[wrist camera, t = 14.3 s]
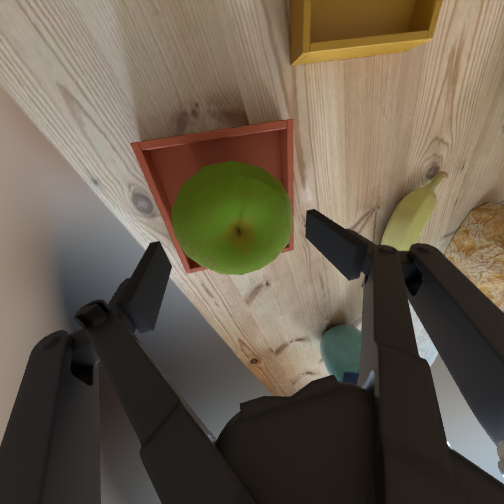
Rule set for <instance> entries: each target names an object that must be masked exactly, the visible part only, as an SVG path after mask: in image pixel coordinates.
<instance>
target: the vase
mask: <svg viewBox="0 0 504 504" xmlns="http://www.w3.org/2000/svg"><path fill="white" fill-rule="evenodd" d="M360 350H361V331H360V330H358V329H357V328H355V327H352V326H349V325H337V326H334V327H332V328H330V329H329V330H327V331H326V332H325V333H324V334H323V336H322V338H321V341H320V352H321V356H322V359H323V362H324V364H325V366H326V368H327V370H328V372H329V374H330V375H333V374H334V375H335V377H336V379H337V381H342V382H348V383H351V384H354V385H357V382H358V377H359V370H360ZM447 444H448V442H447ZM448 446H449V447H450V445H449V444H448ZM450 448H451V447H450Z"/></svg>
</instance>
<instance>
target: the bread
mask: <svg viewBox="0 0 504 504" xmlns="http://www.w3.org/2000/svg"><path fill="white" fill-rule="evenodd" d="M445 257H446V258H447V259H448V260H450V261H451V262H452V263H453V264H454V265H455V266H456V267H457V268H458V269H459V270H460V271H461V272H462V273H463V274H464V275H465V276H466V277H467V278H468V279H469V280H470V281H471V282H472V283H473V284H474V285H475V286H476V287H477V288H478V289H480V290H481V291H482V292H483V293H484V294H485V295H486V296H487V297H488V298H489V299H490V300H491V301H492V302H493V303H494V304H495V305H496V306H497V307H498V308H499V309H500V310H501V311H503V310H504V205H499V204H494V203H490V202H489V203H486V204H484V205H482V206H480V207H478V208H476V209H473V210H471V211H470V213H469V214H468V216H467V217H466V219H465V220H464V221H463V223H462V224H461V226H460V227H459V229H458V230H457V232H456V234H455V235H454V237H453V239H452V241H451V242H450V244H449V246H448V248H447V249H446V252H445Z"/></svg>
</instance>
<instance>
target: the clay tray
mask: <svg viewBox="0 0 504 504" xmlns="http://www.w3.org/2000/svg"><path fill="white" fill-rule="evenodd" d="M131 146H132V148H133V151H134V153H135V155H136V158H137V160H138V162H139V165H140V167H141V169H142V172H143V174H144V176H145V178H146V181H147V183H148V185H149V188H150V190H151V192H152V195H153V197H154V199H155V202H156V204H157V206H158V209H159V211H160V213H161V215H162V218H163V220H164V222H165V225H166V227H167V229H168V232H169V234H170V236H171V239H172V241H173V243H174V246H175V248H176V250H177V253H178V255H179V257H180V259H181V262H182V264H183V266H184V269H185V271H186V273H187V274H189V273H193V272H198V271H202V270H207V268H204V267H202V266H201V265H199V264H198V263H197V262H195V261H194V260H192V259H191V258H190V257H188V256H187V255H186V254H185V253H184V251H183V249H182V247H181V246H180V244H179V242H178V241H177V239H176V237H175V236H174V229H173V221H172V214H171V210H172V208H173V205H174V203H175V201H176V198H177V196H178V193H179V191H180V189H181V186H182V185H183V184H184V182H185V181H187V180H188V179H189V178H191V177H192V176H193V175H194V174H196V173H197V172H198V171H199V170H200V169H201V168H202V167H203V166H207V165H212V164H217V163H222V162H227V161H237V162H241V163H245V164H250V165H254V166H258V167H261V168H262V169H264V170H265V171H267V172H268V173H270V174H271V175H273V176H274V177H276V178H277V179H279V180H280V181H281V182H282V184H283V186H284V188H285V190H286V192H287V194H288V196H289V198H290V200H291V203H292V214H293V119H288V120H281V121H274V122H268V123H261V124H254V125H248V126H241V127H234V128H228V129H221V130H214V131H208V132H201V133H194V134H188V135H181V136H174V137H168V138H161V139H154V140H147V141H141V142H134V143H131ZM292 250H294V245H293V227H292V231H291V236H290V241H289V243H288V245H287V246H286V247H285V248H284V250H283V251H282V252H281V253H283V252H287V251H292Z"/></svg>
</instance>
